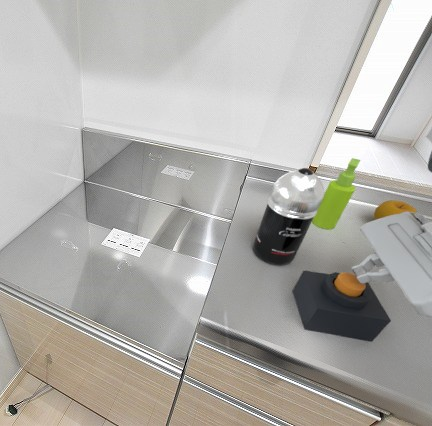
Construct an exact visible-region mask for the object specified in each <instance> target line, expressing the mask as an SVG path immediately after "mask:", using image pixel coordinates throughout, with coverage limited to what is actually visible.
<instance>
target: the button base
mask: <svg viewBox="0 0 432 426" xmlns="http://www.w3.org/2000/svg"><path fill="white" fill-rule="evenodd" d="M340 273H341V272H337V271H336V272H332V273H324V272H317V271H310V270H302V272H301V274H300V276H299V278H298V280H297V281H296V283H295V285H294V287H293V289H292V295H293V298H294V301H295V304H296V307H297V311H298V314H299V317H300V321H301V323H302V326H303V330H306V331H311V332H317V333H322V334H327V335H333V336H337V337H343V338H349V339H354V340H360V341H365V342H370V343H372V342H374V340H375V339H376V338H377V337H378V336H379V335H380V334H381V332H382V331H384V329H386V327H387V326H388V325H389V323H391V322H392V320H391V318H390V317H389V315H388V313H387V312H386V309H385V308H384V306H383V305H382V303H381V301H380V299H379V298H378V297H377V296H378V295H376V293H375V292H374V290H373V288H372V286H371V284H370V283H369V282H367V283H365V285H366V288H365V289H364V290H363V292H362V293H361V295H360V296H358V297H351V296H348V295H346V294H343V293H341V292H340V291H339V290H338V289H336V288H335V286H334V281H335V280H336V278H337V277H338V275H339V274H340Z"/></svg>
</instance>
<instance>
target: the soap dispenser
mask: <svg viewBox="0 0 432 426" xmlns="http://www.w3.org/2000/svg"><path fill="white" fill-rule="evenodd" d="M360 162H361V159H358V158H355V157H354V158H353V157H352V158H351V159H350V161H349V162H348V164H347V167H346V169H345V170H342V171H340V173H339V175H338V177H337V179H334V180H331V181H329V183H328V185H327V187H326V190H325V191H324V198H323V200H322V202H321V204H320V206H319V208H318V211H317V214H316V216H315V217H314V218H313V220H312V222H311V223H312V224H313V225H315V226H316V227H318V228H320V229H324V230H333V229H335V227H336V225H337V224H338V222H339V221H340V218H341V217H342V215H343V213H344V211H345V209H346V206H348V203H349V202H350V200H351V198H352V196H353V194H354V193H355V191H356V186H355V185H353V183H354V181H355V179H356V177H357V174H355V171H356V169H357V168H358V166H359V164H360Z"/></svg>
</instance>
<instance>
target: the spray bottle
mask: <svg viewBox="0 0 432 426" xmlns="http://www.w3.org/2000/svg"><path fill="white" fill-rule="evenodd" d="M324 194H325V187H324V185H323V182H322V180H321V179H320V178H319V177H318V176H317V174H316V173H314V172H313V170H312V169H310V168H308V167H301V168H299V169H295V170H291V171H288V172H287V173H285V174H283V175H281V176H280V177H279V178H278V179H277V180H276V181H275V182H274V184H273V186H272V189H271V193H270V195H269V197H268V199H267V204H266V206H265V210H264V212H263V215H262V218H261V221H260V224H259V227H258V229H257V233H256V235H255V238H254V241H253V244H252V248H253V251H254V253H255V255H256V256H257V257H258V258H259V259H260V260H262V261H264V262H266V263H268V264H272V265H277V266H283V265H288V264H290V263H291V262H293V261H294V260H295V257H296V255H297V253H298V252H299V249H300V247H301V245H302V243H303V241H304V238H305V237H306V235H307V233H308V230H309V228H310V227H311V224H312V223H313V222H312V220H313V218H314V217H315V216H316V214H317V211H318V208H319V206H320V204H321V202H322V200H323V198H324Z"/></svg>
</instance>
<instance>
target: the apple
mask: <svg viewBox="0 0 432 426" xmlns="http://www.w3.org/2000/svg"><path fill="white" fill-rule="evenodd" d="M403 212H414V213H418V212H417V209H416V208H415V207H414V206H412V205H410V204H409V203H407V202H404V201H400V200H393V199H392V200H391V199H390V200H386V201H384V202H381V203H380V204H379V205H378V206H377V207H376V208H375V210H374V212H373V217H374V220H377V219H380V218H383V217H387V216H390V215H395V214H400V213H403ZM412 215H413V214H412Z"/></svg>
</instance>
